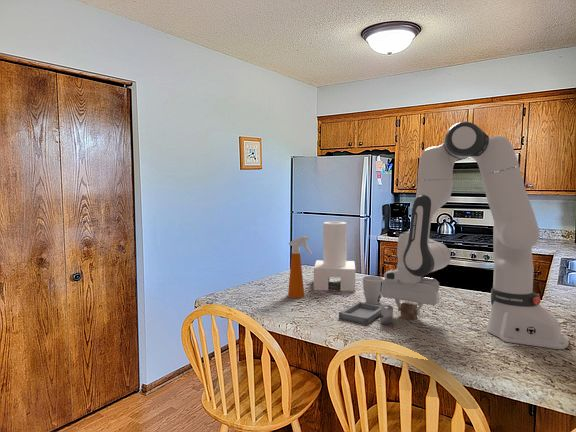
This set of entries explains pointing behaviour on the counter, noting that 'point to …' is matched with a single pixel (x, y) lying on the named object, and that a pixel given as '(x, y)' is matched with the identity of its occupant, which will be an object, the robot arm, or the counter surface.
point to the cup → (372, 289)
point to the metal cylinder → (386, 315)
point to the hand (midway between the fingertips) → (408, 312)
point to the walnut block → (408, 310)
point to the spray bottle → (297, 268)
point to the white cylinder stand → (334, 258)
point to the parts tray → (361, 313)
